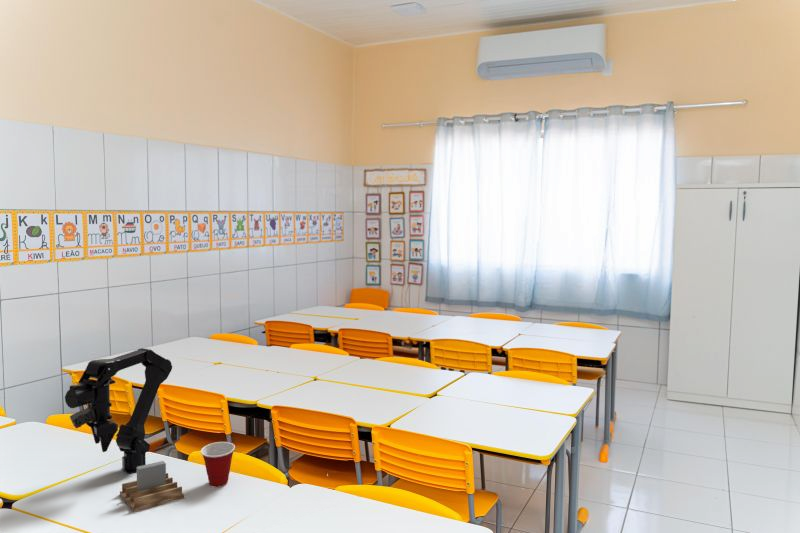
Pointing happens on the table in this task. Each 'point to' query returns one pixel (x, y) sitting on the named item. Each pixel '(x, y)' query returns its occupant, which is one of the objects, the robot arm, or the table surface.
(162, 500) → the rack
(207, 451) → the plastic cup
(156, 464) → the slate
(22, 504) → the table surface
